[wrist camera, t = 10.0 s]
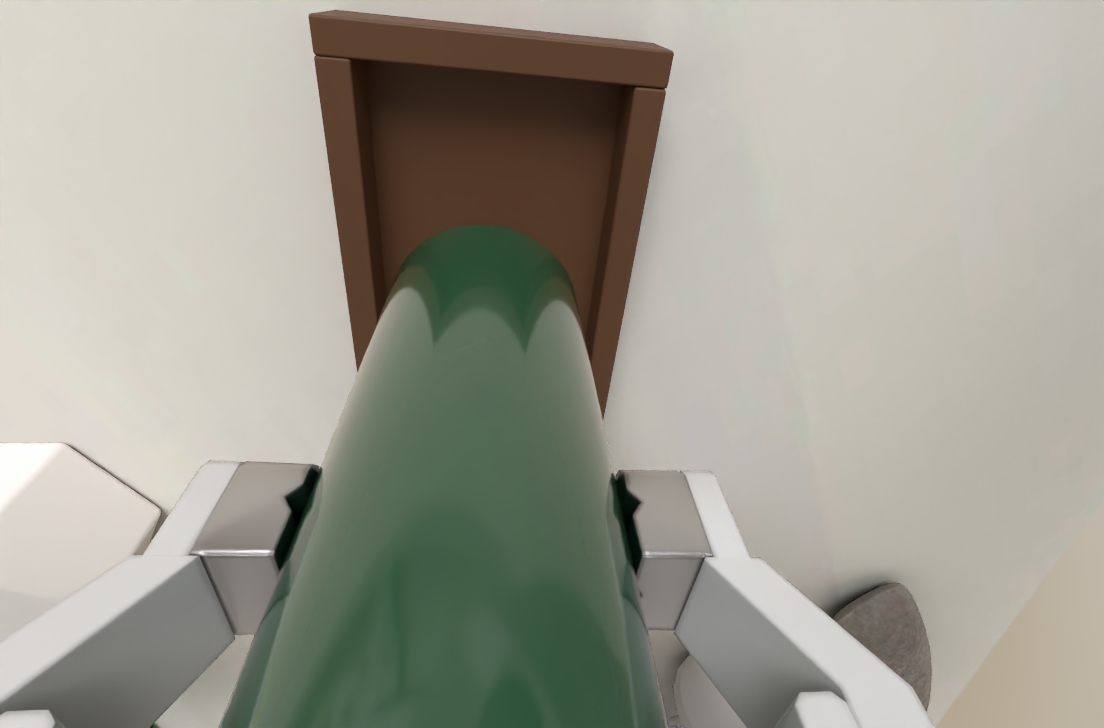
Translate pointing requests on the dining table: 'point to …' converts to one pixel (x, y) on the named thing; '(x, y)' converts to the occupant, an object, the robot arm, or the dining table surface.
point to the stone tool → (892, 634)
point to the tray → (488, 151)
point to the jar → (61, 527)
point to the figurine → (700, 700)
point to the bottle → (461, 522)
